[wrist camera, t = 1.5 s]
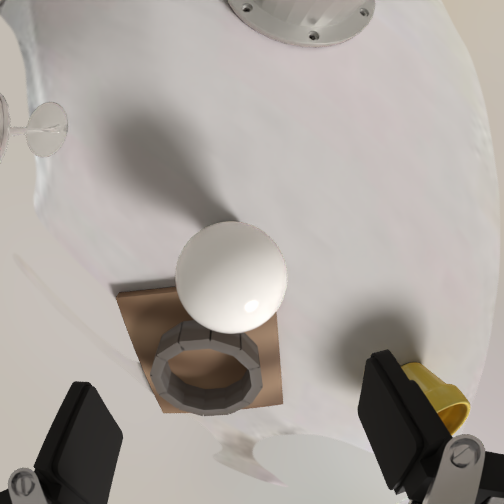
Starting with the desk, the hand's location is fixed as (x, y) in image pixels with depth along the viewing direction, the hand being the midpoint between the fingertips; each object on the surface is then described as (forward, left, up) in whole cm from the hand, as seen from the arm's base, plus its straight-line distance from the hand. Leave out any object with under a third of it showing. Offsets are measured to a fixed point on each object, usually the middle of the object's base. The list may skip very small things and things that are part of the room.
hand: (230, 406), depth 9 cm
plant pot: (+22, +19, -17) cm, 34 cm away
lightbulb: (0, 0, -17) cm, 17 cm away
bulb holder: (+12, -4, -17) cm, 21 cm away
